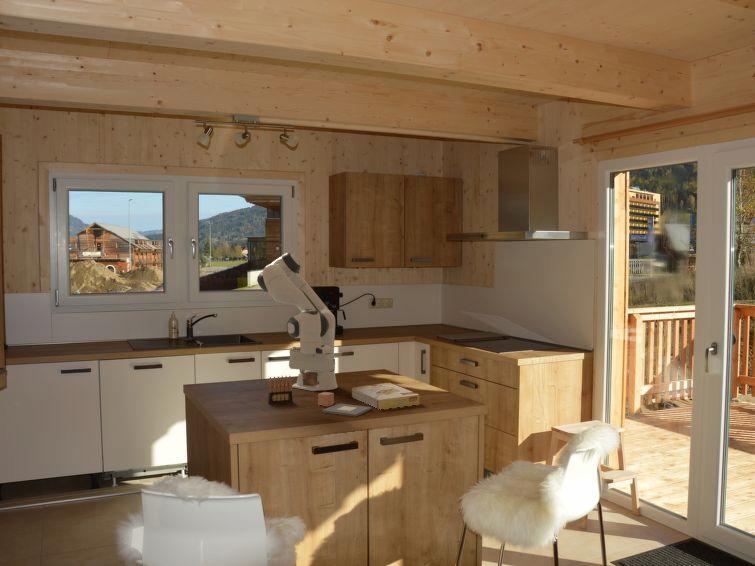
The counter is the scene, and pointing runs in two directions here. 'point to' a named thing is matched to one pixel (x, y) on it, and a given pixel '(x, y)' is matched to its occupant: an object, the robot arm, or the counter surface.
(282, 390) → the ammunition clip
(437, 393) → the counter surface
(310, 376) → the walnut cube
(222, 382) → the counter surface
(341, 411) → the board
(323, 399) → the terracotta cube
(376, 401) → the cereal box
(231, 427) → the counter surface
